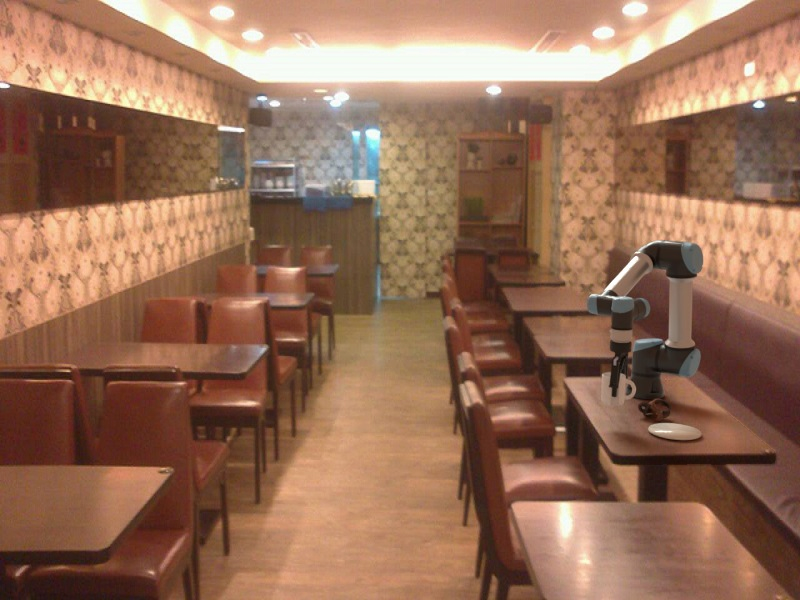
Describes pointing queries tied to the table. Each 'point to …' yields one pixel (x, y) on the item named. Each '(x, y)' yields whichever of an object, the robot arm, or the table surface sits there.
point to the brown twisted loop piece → (655, 409)
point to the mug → (607, 390)
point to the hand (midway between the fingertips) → (617, 402)
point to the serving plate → (674, 431)
